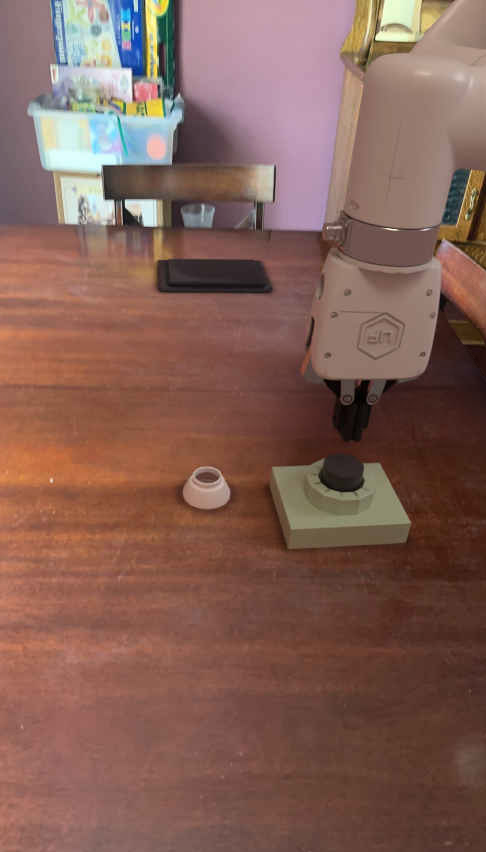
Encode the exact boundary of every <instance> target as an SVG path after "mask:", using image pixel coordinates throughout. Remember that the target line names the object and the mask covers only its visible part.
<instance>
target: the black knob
mask: <svg viewBox="0 0 486 852" xmlns="http://www.w3.org/2000/svg"><path fill="white" fill-rule="evenodd" d="M324 458H325V460H324V463H323V469H322V474H321V482H322V484H323V485H324V486H326V487H327V488H328V489H331V490H334V491H338V492H341V493H342V492H355V491H357V490H358V489H359V488H360V486H361V481H362V477H363V472H364V465H363V463H364V462H363V461H361V460H360V459H359V458H358V457H356V456H354V455H351V454H347V453H332V454H329V455H328V456H326V457H324Z"/></svg>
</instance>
